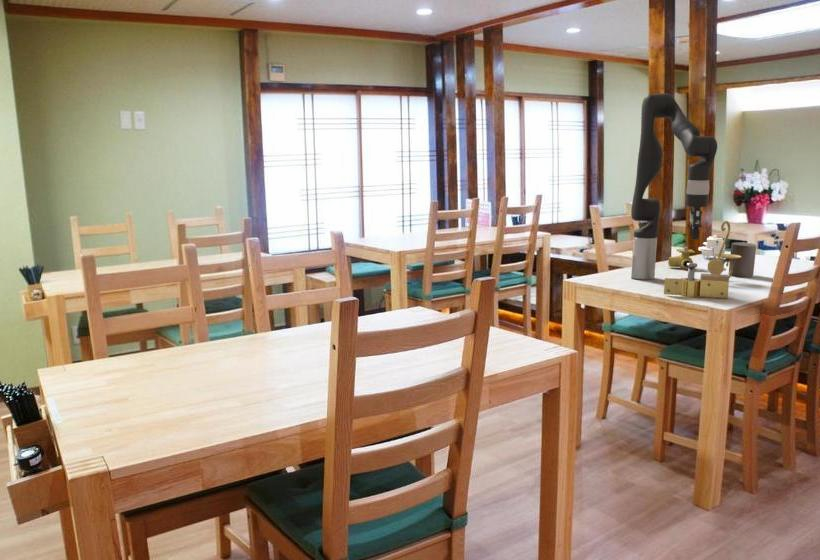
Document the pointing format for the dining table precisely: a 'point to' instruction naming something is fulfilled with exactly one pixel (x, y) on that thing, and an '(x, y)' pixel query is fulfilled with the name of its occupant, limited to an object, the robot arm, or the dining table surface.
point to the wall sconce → (716, 264)
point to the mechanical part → (712, 247)
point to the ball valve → (681, 259)
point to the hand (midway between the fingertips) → (694, 237)
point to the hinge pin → (691, 270)
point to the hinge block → (699, 286)
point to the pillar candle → (743, 259)
